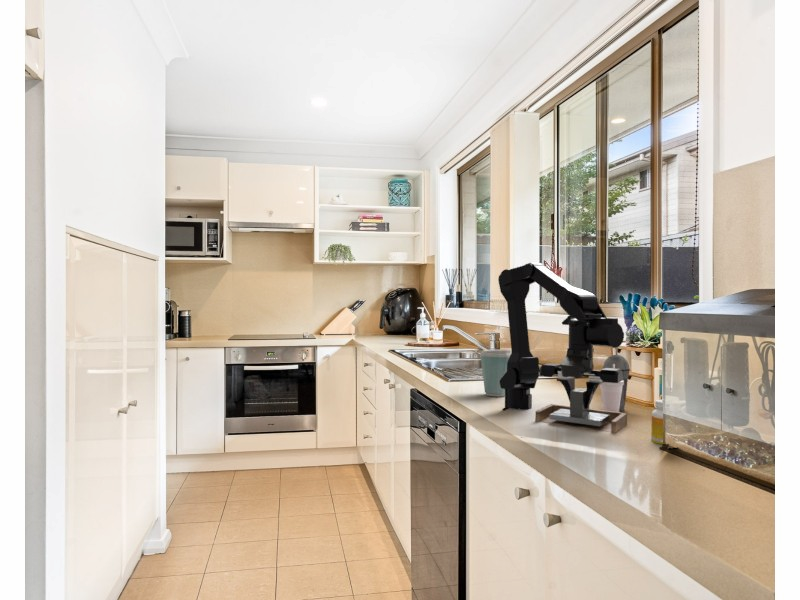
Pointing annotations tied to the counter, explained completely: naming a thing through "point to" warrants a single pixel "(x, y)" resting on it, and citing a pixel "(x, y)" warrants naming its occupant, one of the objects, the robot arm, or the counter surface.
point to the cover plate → (584, 420)
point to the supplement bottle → (657, 423)
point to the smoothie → (611, 395)
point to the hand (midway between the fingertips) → (579, 407)
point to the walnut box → (611, 425)
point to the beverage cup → (624, 366)
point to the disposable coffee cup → (494, 370)
